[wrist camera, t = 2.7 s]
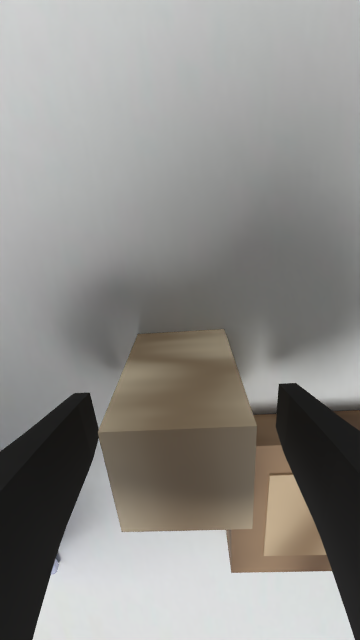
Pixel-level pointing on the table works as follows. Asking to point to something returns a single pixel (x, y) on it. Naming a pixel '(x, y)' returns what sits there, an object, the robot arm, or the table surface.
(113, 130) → the table surface
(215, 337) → the oak block
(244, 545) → the walnut plinth
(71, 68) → the table surface
